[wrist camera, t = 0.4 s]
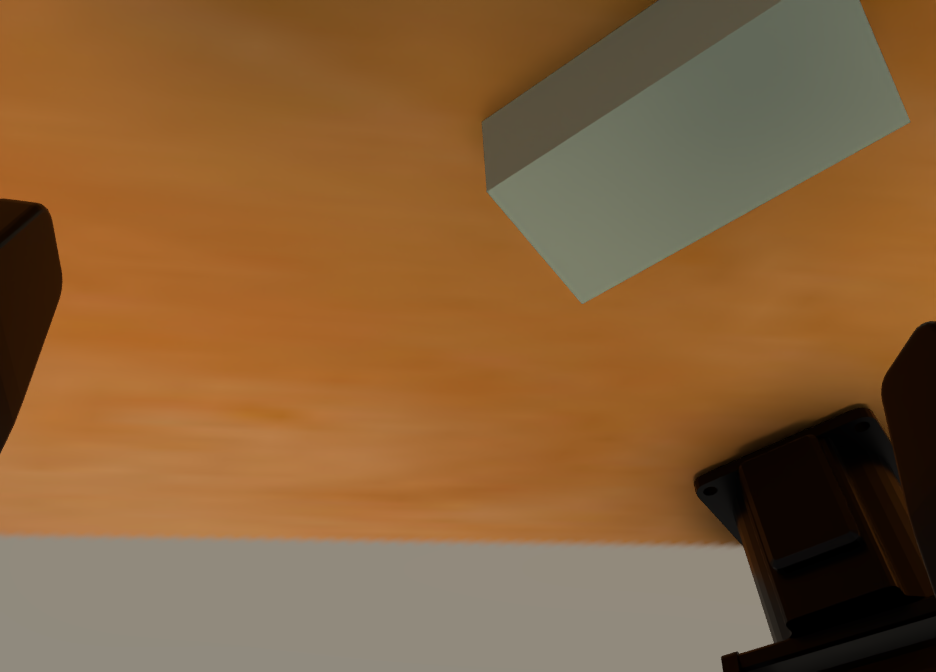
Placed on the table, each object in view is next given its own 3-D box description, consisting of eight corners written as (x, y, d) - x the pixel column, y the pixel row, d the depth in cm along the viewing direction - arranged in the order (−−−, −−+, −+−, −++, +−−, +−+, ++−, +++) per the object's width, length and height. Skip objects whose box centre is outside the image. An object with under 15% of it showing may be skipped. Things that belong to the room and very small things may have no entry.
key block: (848, 53, 20) (910, 121, 17) (566, 224, 23) (582, 303, 20) (784, -92, 18) (842, -40, 15) (481, 117, 21) (486, 191, 18)
